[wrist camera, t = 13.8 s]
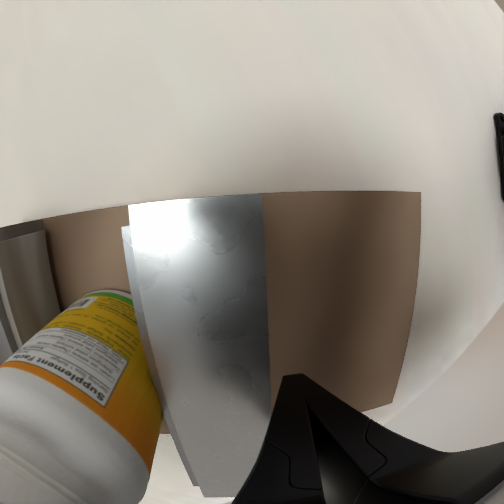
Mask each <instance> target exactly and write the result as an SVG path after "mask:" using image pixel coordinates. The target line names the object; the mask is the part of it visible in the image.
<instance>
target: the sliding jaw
mask: <svg viewBox="0 0 504 504" xmlns="http://www.w3.org/2000/svg"><path fill="white" fill-rule="evenodd" d="M128 207H129V218H130V224H129V225H126V226H123V227H121V229H122V238H123V246H124V253H125V260H126V266H127V273H128V279H129V284H130V290H131V295H132V300H133V305H134V310H135V315H136V319H137V324H138V328H139V332H140V336H141V341H142V344H143V348H144V352H145V356H146V360H147V363H148V367H149V370H150V374H151V377H152V380H153V384H154V387H155V390H156V393H157V396H158V398H159V400H160V403H161V407H162V411H163V414H164V417H165V419H166V422H167V425H168V428H169V430H170V433H171V435H172V438H173V440H174V443H175V445H176V448H177V450H178V453H179V455H180V457H181V460H182V462H183V464H184V466H185V469H186V471H187V473H188V475H189V477H190V480H191V482H192V484H193V486H199V487H200V489H201V491H202V493H203V495H204V497H236V495H237V494H238V492H239V491H240V489H241V487H242V486H243V484H244V482H245V481H246V479H247V477H248V475H249V474H250V472H251V470H252V468H253V466H254V464H255V462H256V460H257V457H258V455H259V452H260V449H261V446H262V443H263V441H264V438H265V434H266V431H267V428H268V425H269V421H270V418H271V384H270V355H269V329H268V305H267V282H266V261H265V241H264V222H263V204H262V193H261V194H242V195H227V196H214V197H202V198H191V199H180V200H170V201H161V202H152V203H144V204H136V205H128Z"/></svg>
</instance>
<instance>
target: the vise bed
mask: <svg viewBox="0 0 504 504" xmlns="http://www.w3.org/2000/svg"><path fill="white" fill-rule="evenodd" d="M259 194H261V193H259ZM190 199H191V198H190ZM143 204H144V203H143ZM262 204H263V222H264V241H265V261H266V282H267V305H268V329H269V355H270V384H271V415H272V411H273V408H274V405H275V401H276V398H277V394H278V391H279V387H280V384H281V380H282V377H283V376H284V375H290V374H298V373H303V374H305V375H306V376H308V377H309V378H310V379H312V380H313V381H315V382H316V383H317V384H319V385H320V386H322V387H323V388H325V389H326V390H328V391H329V392H331V393H332V394H333V395H335V396H336V397H338V398H339V399H341V400H342V401H344V402H345V403H347V404H348V405H350V406H351V407H353V408H354V409H356V410H358V411H359V412H363V411H367V410H370V409H374V408H377V407H380V406H383V405H386V404H390V403H392V401H393V397H394V394H395V391H396V387H397V384H398V380H399V376H400V372H401V368H402V364H403V360H404V356H405V351H406V347H407V342H408V337H409V332H410V326H411V321H412V315H413V308H414V301H415V294H416V286H417V277H418V266H419V253H420V234H421V192H397V191H309V192H280V193H262ZM135 205H136V204H135ZM129 224H130V218H129V207H128V205H127V206H120V207H112V208H105V209H98V210H92V211H85V212H79V213H73V214H67V215H61V216H56V217H50V218H45V219H40V220H34V221H29V222H24V223H20V224H15V225H10V226H6V227H1V228H0V366H1V365H2V364H3V363H4V362H5V361H6V360H7V359H8V358H9V357H10V356H12V355H13V354H14V353H15V352H16V351H17V350H18V349H19V348H21V347H22V346H23V345H24V344H25V343H26V342H27V341H28V340H30V339H31V338H32V337H33V336H34V335H35V334H36V333H38V332H39V331H40V330H41V329H42V328H44V327H45V326H46V325H47V324H48V323H50V322H51V321H52V320H53V319H54V318H56V317H57V316H58V315H59V314H60V313H62V312H63V311H64V310H65V309H67V308H68V307H69V306H70V305H72V304H73V303H74V302H76V301H77V300H79V299H80V298H82V297H83V296H85V295H86V294H89V293H91V292H94V291H99V290H117V291H122V292H125V293H128V294H131V290H130V284H129V279H128V273H127V266H126V260H125V253H124V246H123V238H122V229H121V227H123V226H126V225H129ZM159 433H162V434H171V433H170V430H169V428H168V425H167V422H166V419H165V417H164V415H163V421H162V424H161V428H160V432H159Z"/></svg>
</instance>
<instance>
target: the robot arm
mask: <svg viewBox="0 0 504 504" xmlns="http://www.w3.org/2000/svg"><path fill="white" fill-rule="evenodd" d="M495 120H496V126H497V133H498V140H499V148H500V157H501V170H502V193H503V200H504V114H502V113H496V114H495ZM231 504H504V442H501V443H497V444H493V445H490V446H485V447H480V448H476V449H471V450H466V451H460V452H451V453H450V452H442V451H438V450H435V449H432V448H429V447H427V446H424V445H422V444H419V443H417V442H414V441H412V440H410V439H407V438H405V437H403V436H401V435H399V434H397V433H395V432H392V431H391V430H389V429H387V428H385V427H383V426H382V425H380V424H378V423H377V422H375V421H373V420H372V419H370V418H369V417H367V416H365V415H364V414H362V413H361V412H359V411H358V410H356V409H354V408H353V407H351V406H350V405H348V404H347V403H345V402H344V401H342V400H341V399H339V398H338V397H336V396H335V395H333V394H332V393H331V392H329V391H328V390H326V389H325V388H323V387H322V386H320V385H319V384H317V383H316V382H315V381H313V380H312V379H310V378H309V377H308V376H306V375H305V374H303V373H298V374H290V375H284V376H283V377H282V380H281V384H280V387H279V391H278V394H277V398H276V401H275V405H274V408H273V411H272V415H271V418H270V421H269V425H268V428H267V431H266V434H265V438H264V441H263V443H262V446H261V449H260V452H259V455H258V457H257V460H256V462H255V464H254V466H253V468H252V470H251V472H250V474H249V475H248V477H247V479H246V481H245V482H244V484H243V486H242V487H241V489H240V491H239V492H238V494H237V495H236V497H235V499H234V500H233V502H232V503H231Z"/></svg>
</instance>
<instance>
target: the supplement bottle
mask: <svg viewBox="0 0 504 504" xmlns="http://www.w3.org/2000/svg"><path fill="white" fill-rule="evenodd" d="M163 415H164V414H163V411H162V407H161V403H160V400H159V398H158V396H157V393H156V390H155V387H154V384H153V380H152V377H151V374H150V370H149V367H148V363H147V360H146V356H145V352H144V348H143V344H142V341H141V336H140V332H139V328H138V324H137V319H136V315H135V310H134V305H133V300H132V295H131V294H128V293H125V292H122V291H117V290H99V291H94V292H91V293H89V294H86V295H85V296H83V297H82V298H80V299H79V300H77V301H76V302H74V303H73V304H72V305H70V306H69V307H68V308H67V309H65V310H64V311H63V312H62V313H60V314H59V315H58V316H57V317H56V318H54V319H53V320H52V321H51V322H50V323H48V324H47V325H46V326H45V327H44V328H42V329H41V330H40V331H39V332H38V333H36V334H35V335H34V336H33V337H32V338H31V339H30V340H28V341H27V342H26V343H25V344H24V345H23V346H22V347H21V348H19V349H18V350H17V351H16V352H15V353H14V354H13V355H12V356H10V357H9V358H8V359H7V360H6V361H5V362H4V363H3V364H2V365H1V366H0V504H138V503H139V502H140V501H141V500H142V498H143V497H144V494H145V492H146V489H147V484H148V482H149V478H150V473H151V468H152V463H153V459H154V454H155V450H156V445H157V441H158V437H159V432H160V428H161V424H162V421H163Z"/></svg>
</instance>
